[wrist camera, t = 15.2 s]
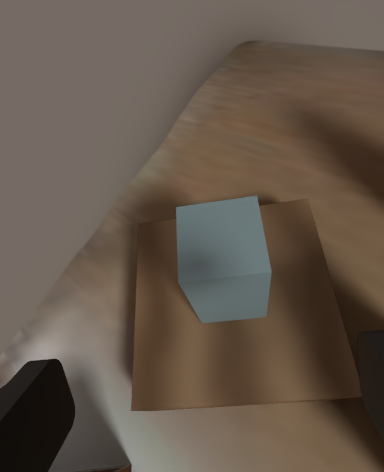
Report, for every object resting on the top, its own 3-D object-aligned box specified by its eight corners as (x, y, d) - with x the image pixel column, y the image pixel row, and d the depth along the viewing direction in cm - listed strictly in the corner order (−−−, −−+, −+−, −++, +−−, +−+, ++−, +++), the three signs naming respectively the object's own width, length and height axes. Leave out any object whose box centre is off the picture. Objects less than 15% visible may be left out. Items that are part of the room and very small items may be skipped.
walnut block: (302, 226, 33) (307, 198, 29) (347, 399, 25) (364, 396, 21) (153, 246, 35) (138, 223, 31) (151, 411, 27) (131, 410, 23)
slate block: (256, 258, 27) (257, 195, 19) (266, 317, 24) (271, 272, 17) (198, 265, 27) (175, 207, 20) (201, 323, 25) (178, 282, 17)
